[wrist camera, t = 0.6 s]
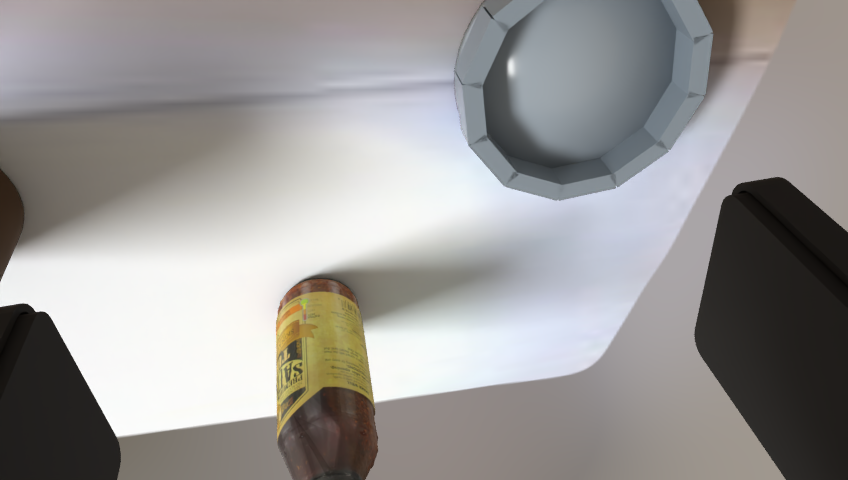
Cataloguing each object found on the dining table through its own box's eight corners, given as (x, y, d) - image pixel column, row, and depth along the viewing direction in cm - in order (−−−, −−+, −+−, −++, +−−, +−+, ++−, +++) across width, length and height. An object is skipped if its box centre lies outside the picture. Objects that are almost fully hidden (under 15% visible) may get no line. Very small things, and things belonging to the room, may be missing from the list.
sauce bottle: (280, 271, 50) (284, 523, 34) (365, 276, 51) (407, 518, 36) (271, 337, 53) (272, 593, 37) (352, 340, 55) (384, 586, 39)
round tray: (440, -29, 39) (451, -13, 37) (699, -80, 40) (726, -68, 38) (466, 194, 48) (476, 218, 46) (675, 149, 49) (695, 170, 47)
